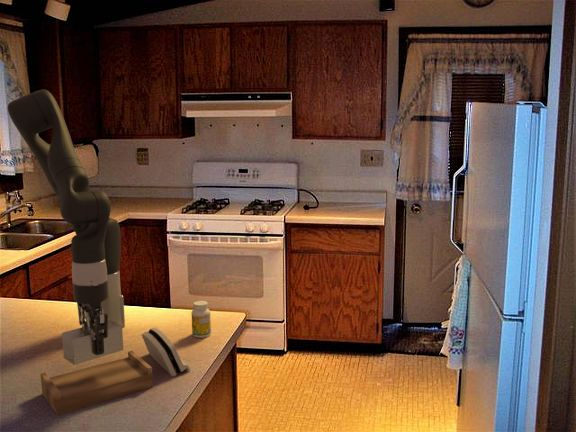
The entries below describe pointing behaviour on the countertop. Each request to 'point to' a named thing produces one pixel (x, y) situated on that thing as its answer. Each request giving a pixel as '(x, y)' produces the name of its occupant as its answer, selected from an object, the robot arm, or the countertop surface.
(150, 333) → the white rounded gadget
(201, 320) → the supplement bottle
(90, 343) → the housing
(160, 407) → the countertop surface
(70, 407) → the stand
